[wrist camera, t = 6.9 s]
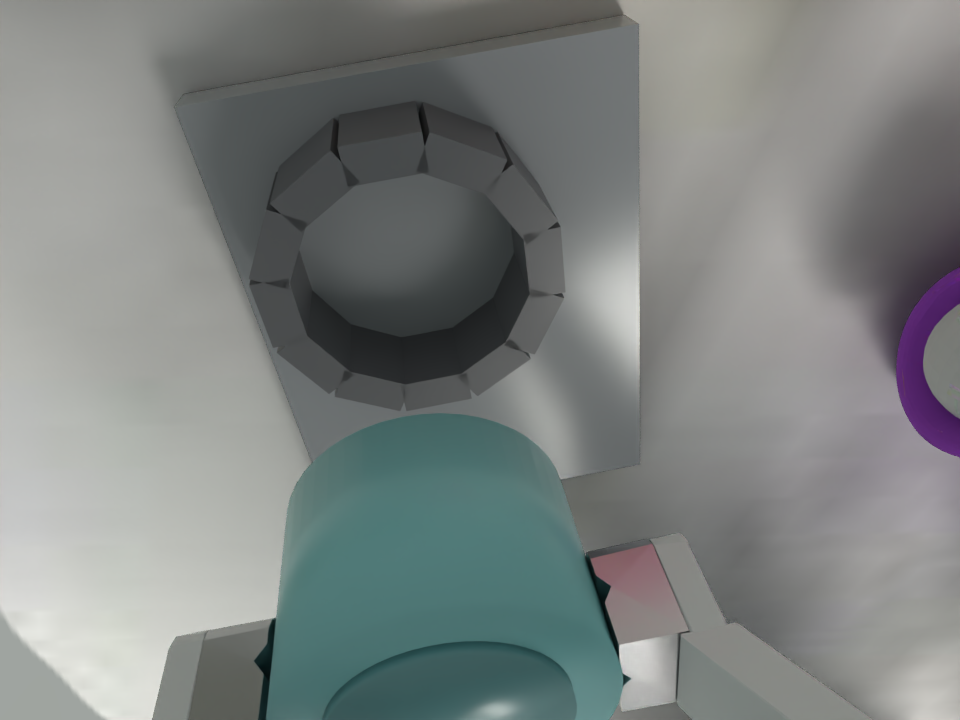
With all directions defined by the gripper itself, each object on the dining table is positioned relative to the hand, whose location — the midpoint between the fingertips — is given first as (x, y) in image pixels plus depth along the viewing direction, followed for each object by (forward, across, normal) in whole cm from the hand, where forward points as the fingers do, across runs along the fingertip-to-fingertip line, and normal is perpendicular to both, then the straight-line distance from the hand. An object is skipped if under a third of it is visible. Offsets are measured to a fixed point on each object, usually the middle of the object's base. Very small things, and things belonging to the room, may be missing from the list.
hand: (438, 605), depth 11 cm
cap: (+2, 0, 0) cm, 2 cm away
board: (+14, -1, +3) cm, 14 cm away
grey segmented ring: (+12, 0, 0) cm, 12 cm away
